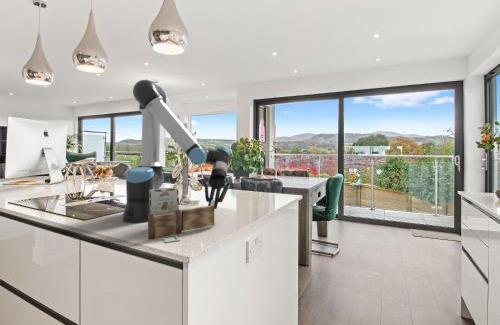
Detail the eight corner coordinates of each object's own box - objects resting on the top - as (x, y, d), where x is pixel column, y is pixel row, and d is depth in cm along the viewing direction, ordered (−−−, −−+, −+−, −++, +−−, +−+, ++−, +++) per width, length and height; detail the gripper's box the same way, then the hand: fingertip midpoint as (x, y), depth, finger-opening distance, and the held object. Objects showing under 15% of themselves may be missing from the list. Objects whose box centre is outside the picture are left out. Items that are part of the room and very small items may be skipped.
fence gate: (183, 231, 108) (183, 210, 108) (181, 229, 109) (181, 209, 109) (214, 225, 117) (214, 206, 116) (212, 224, 118) (212, 205, 118)
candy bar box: (177, 225, 118) (177, 187, 118) (179, 228, 114) (179, 188, 113) (149, 228, 114) (148, 188, 113) (150, 231, 109) (149, 190, 109)
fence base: (180, 232, 109) (180, 209, 109) (182, 233, 108) (182, 210, 107) (147, 238, 101) (147, 213, 101) (149, 240, 99) (149, 214, 99)
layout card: (161, 238, 102) (161, 236, 102) (175, 236, 104) (175, 234, 104) (165, 243, 96) (165, 241, 96) (179, 240, 99) (179, 239, 99)
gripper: (233, 177, 139) (226, 219, 123) (207, 177, 140) (198, 218, 125) (231, 167, 133) (224, 210, 118) (204, 167, 135) (194, 209, 119)
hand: (211, 214), depth 121 cm, fingers closed
